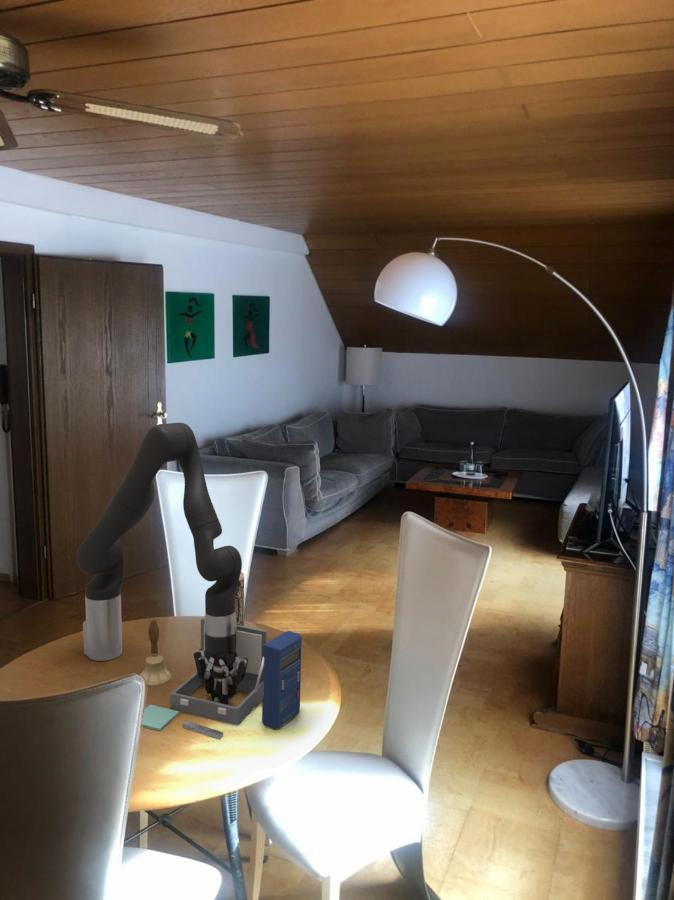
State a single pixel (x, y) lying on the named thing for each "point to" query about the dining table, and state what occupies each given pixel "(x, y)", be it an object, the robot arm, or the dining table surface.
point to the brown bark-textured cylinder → (240, 601)
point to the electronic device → (281, 679)
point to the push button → (220, 686)
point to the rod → (203, 730)
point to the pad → (157, 717)
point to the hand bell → (155, 661)
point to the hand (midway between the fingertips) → (221, 694)
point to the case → (253, 682)
